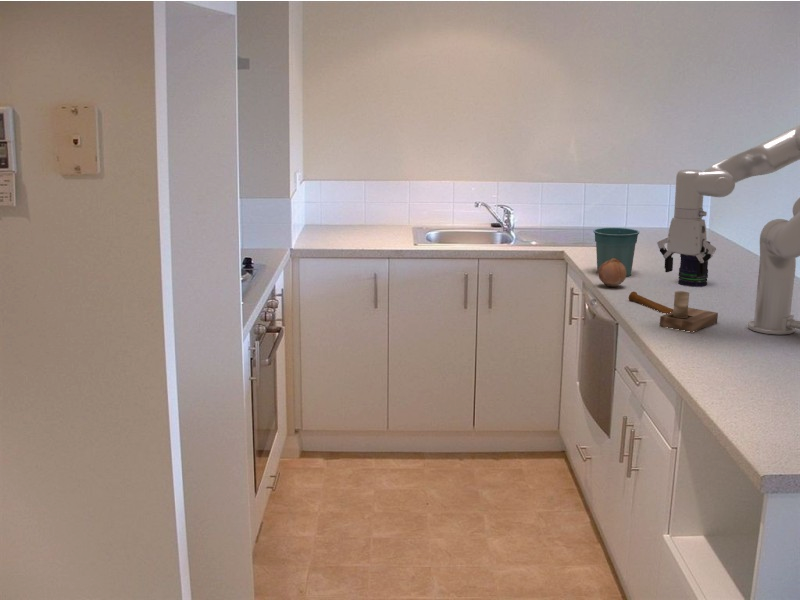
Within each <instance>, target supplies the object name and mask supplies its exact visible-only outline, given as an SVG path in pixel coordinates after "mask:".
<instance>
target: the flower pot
mask: <svg viewBox="0 0 800 600" xmlns="http://www.w3.org/2000/svg"><path fill="white" fill-rule="evenodd" d="M593 233H594V242H595V246H596V247H595V248H596V249H595V250H596V268H597V269H596V270H597V274H598V270H599V267H600V266H601V265H602V264H603V263H604V262H606V261H608V260H610V259H612V258H615V259H617V260H620V262H621V263H622V264H623V265H624V266H625V268H626V277H629V276H631V275H632V270H633V263H634V257H635V252H636V251H635V250H636V244H637V241H638V237H639V236H638V235H640V234H641V233H640V231H639V230H637V229H634V228H627V227H599V228H595V229H593Z"/></svg>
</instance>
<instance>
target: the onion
mask: <svg viewBox="0 0 800 600" xmlns="http://www.w3.org/2000/svg"><path fill="white" fill-rule="evenodd" d="M597 275H598V279H599V280H600V281H601V283H603V284H604V285H605V286H607V287H609V288H613V287H618V286H619V285H622V283H623V282H624V281H625V280H626V277H627V276H626V268H625V266H624V265H623V264H622V263H621V262H620V260H617V259H615V258H612V259H610V260H608V261H606V262H604V263H603V264H602V265H601V266H600V267H599V270H598V273H597Z"/></svg>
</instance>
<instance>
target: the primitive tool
mask: <svg viewBox="0 0 800 600" xmlns="http://www.w3.org/2000/svg"><path fill="white" fill-rule="evenodd" d="M628 301H629V302H634V301H635V303H637V304H639V303H640V305H642V304H643V305H642V306H644V305H645V306H644V307H647V306H648V307H647V308H649V307H650V309H651V308H652V310H654V309H655V310H654V311H656V310H658V311H659V312H658V311H657V312H658V313H660V312H662V313H661V314H663V313H670V312H673V309H674V308H671V307H668V306H666V305H663V304H661V303H658V302H655V301H653V300H651V299H648V298H646V297H644V296H642V295H640V294H638V292H637V291H631V292H630V294H629V296H628Z"/></svg>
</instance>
